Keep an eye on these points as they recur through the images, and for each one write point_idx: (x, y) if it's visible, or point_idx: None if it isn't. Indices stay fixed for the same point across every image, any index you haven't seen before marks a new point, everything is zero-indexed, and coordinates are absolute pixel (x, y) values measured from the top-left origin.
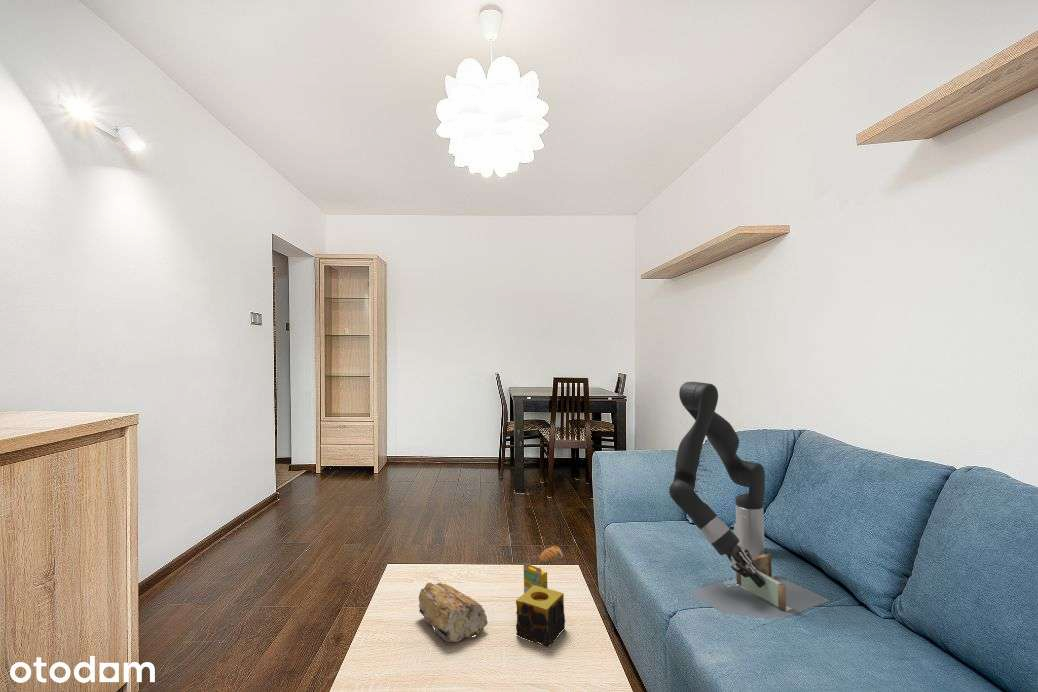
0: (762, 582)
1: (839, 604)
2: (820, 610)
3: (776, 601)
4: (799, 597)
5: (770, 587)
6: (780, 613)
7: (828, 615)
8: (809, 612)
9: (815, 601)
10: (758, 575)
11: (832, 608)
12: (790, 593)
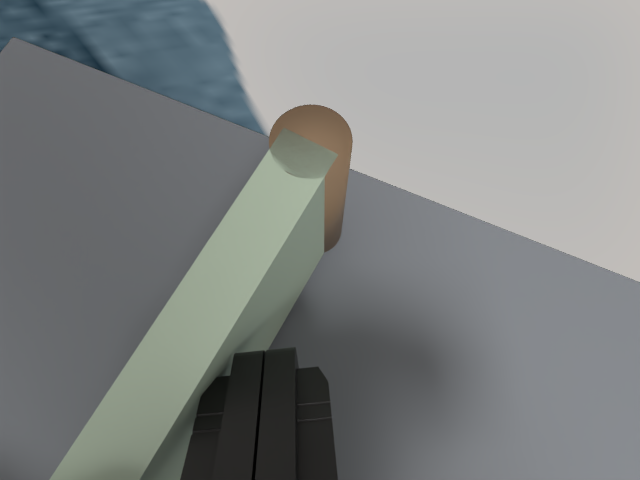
0: (297, 369)
1: (27, 4)
2: (164, 65)
3: (314, 256)
4: (63, 182)
5: (275, 291)
6: (383, 226)
7: (202, 25)
8: (229, 105)
9: (72, 95)
10: (262, 438)
11: (100, 23)
12: (27, 245)
